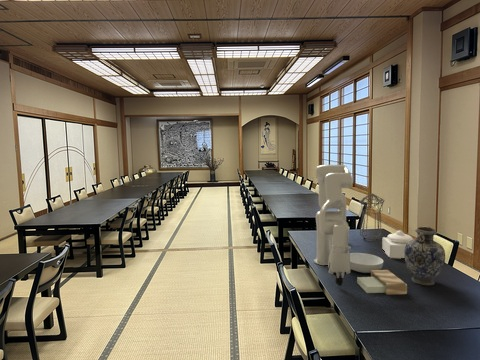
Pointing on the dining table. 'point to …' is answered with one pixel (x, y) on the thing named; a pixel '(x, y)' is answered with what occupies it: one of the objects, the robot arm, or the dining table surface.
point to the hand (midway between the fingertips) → (339, 284)
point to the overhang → (390, 282)
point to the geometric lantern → (373, 213)
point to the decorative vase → (424, 257)
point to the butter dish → (395, 244)
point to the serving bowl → (365, 262)
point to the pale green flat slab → (372, 284)
